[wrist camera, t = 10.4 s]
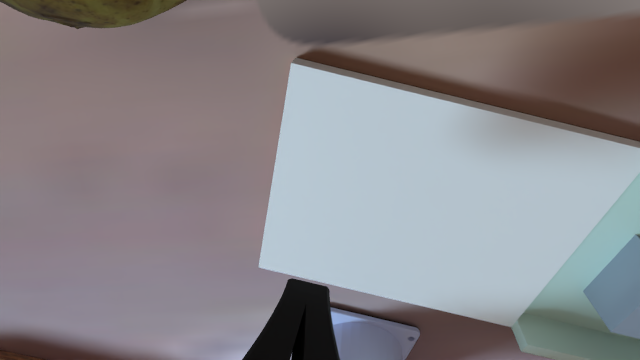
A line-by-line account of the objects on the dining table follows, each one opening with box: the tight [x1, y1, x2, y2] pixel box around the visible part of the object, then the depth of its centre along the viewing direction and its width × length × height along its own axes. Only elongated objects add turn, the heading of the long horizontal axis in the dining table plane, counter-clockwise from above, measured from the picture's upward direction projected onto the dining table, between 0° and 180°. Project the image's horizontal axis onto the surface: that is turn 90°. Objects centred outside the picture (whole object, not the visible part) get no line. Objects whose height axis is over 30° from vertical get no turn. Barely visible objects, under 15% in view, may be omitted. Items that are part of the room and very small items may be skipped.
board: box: [259, 58, 640, 327], centre depth 21 cm, size 14×18×1 cm
